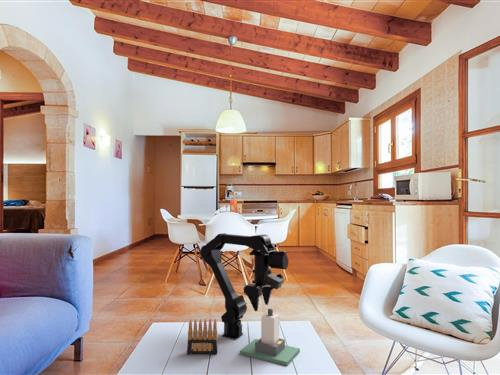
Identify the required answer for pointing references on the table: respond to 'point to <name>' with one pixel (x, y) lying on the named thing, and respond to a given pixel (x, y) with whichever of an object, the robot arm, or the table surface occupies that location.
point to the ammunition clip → (202, 339)
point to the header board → (271, 351)
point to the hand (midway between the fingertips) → (261, 307)
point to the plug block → (270, 328)
